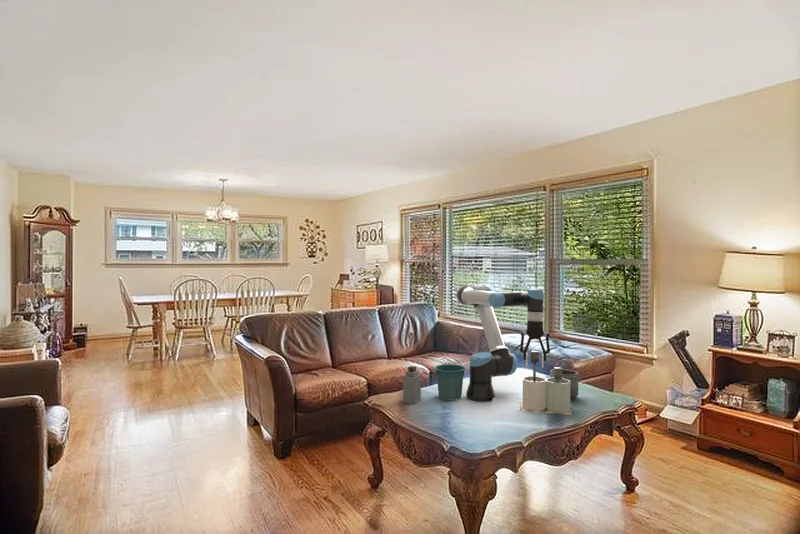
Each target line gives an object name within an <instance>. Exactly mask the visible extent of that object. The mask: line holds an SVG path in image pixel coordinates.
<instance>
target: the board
mask: <svg viewBox="0 0 800 534" xmlns="http://www.w3.org/2000/svg"><path fill="white" fill-rule="evenodd" d="M518 405H519V406H518V407H519V411H520V412H533V413H545V414H555V415H556V414H557V415H558V414H559V415H570V416H573V413H572V411H571V409H570V411H569V412H566V413H557V412H552V411H549V410H547V409H545V410H542V411H532V410H527V409H525V408H523V401H519V404H518Z"/></svg>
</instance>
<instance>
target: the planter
mask: <svg viewBox="0 0 800 534" xmlns="http://www.w3.org/2000/svg"><path fill="white" fill-rule="evenodd" d="M552 377H553V378H554V368H553V369H550V373H549V378H552ZM562 378H563V379H567V380H570V402H571V401H574V400H576V398H577V397H578V395H579V381H580V380H579V372H578V371H576V370H573V369H567V368H562Z"/></svg>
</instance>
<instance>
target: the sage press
mask: <svg viewBox="0 0 800 534" xmlns="http://www.w3.org/2000/svg"><path fill="white" fill-rule="evenodd" d="M553 369H554V378H553V377H552V378H550V377H547V378H545V379H546V409H547V410H549V411H552V412H557V413H566V412H569V411H570V410H571V401H570V380H567V379H563V378H562V369H563V368H562V367H558V366H556V367H555V366H554V368H553Z"/></svg>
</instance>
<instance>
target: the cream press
mask: <svg viewBox="0 0 800 534" xmlns="http://www.w3.org/2000/svg"><path fill="white" fill-rule="evenodd" d="M527 379H533V375H528V376H522V402H523V408H525V409H527V410H532V411H542V410H545V409H546V378H545V377H541V376H537V375H536V379H537V380H541V382H534V381H528V380H527Z"/></svg>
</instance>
